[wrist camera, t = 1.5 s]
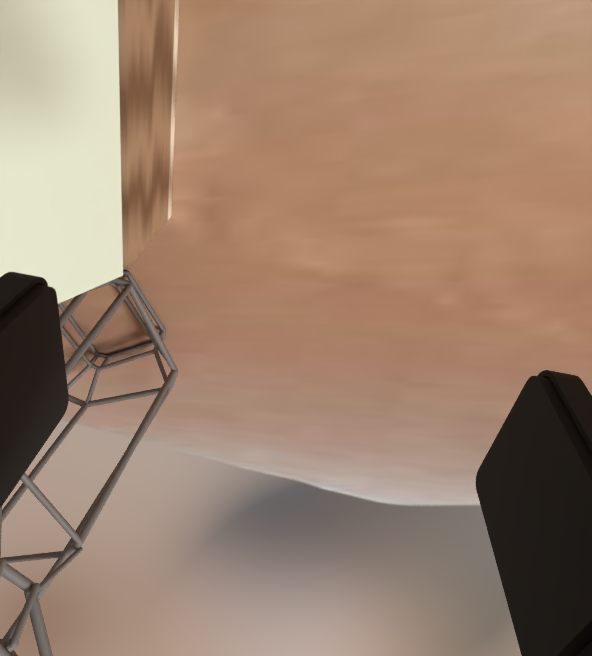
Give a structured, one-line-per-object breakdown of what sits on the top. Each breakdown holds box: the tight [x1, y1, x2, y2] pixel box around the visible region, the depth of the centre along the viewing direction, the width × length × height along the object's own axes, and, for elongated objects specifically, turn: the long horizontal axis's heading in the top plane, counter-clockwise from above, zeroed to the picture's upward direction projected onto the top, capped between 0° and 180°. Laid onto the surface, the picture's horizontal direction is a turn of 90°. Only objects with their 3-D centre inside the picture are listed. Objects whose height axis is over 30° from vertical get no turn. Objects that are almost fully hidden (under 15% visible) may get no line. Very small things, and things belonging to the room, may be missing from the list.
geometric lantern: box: [0, 270, 178, 656], centre depth 34 cm, size 16×16×35 cm
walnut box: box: [118, 0, 179, 269], centre depth 32 cm, size 22×16×10 cm
